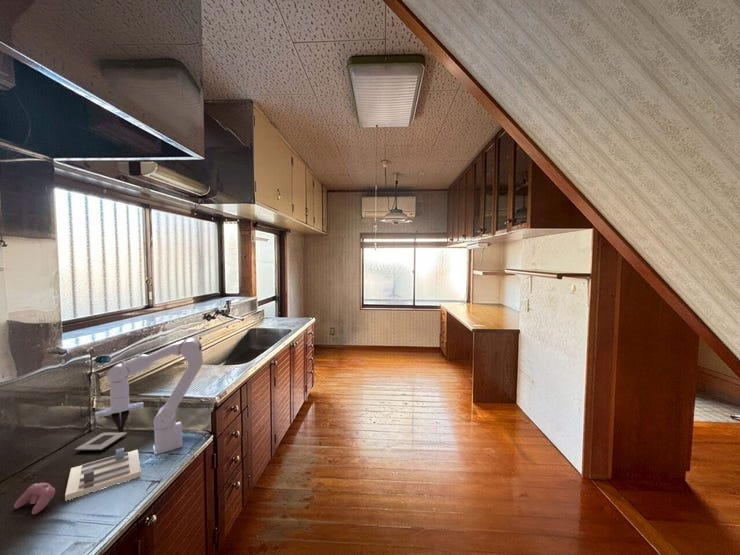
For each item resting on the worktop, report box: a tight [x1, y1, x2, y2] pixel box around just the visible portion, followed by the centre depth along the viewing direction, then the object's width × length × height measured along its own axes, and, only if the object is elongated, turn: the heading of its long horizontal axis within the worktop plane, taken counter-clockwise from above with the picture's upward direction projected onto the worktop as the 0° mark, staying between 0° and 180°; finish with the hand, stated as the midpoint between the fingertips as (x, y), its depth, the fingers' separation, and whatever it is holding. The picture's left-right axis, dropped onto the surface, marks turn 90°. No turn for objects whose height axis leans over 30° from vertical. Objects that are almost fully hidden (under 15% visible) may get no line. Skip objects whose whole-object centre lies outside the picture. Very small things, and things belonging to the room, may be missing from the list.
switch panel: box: [64, 449, 142, 502], centre depth 113 cm, size 19×18×3 cm
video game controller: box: [13, 482, 56, 515], centre depth 99 cm, size 10×5×7 cm, turn 72°
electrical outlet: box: [74, 431, 128, 452], centre depth 134 cm, size 13×10×2 cm
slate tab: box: [115, 447, 125, 460], centre depth 119 cm, size 2×2×3 cm
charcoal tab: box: [84, 468, 94, 483], centre depth 106 cm, size 2×2×3 cm
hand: (120, 431), depth 125 cm, fingers closed
